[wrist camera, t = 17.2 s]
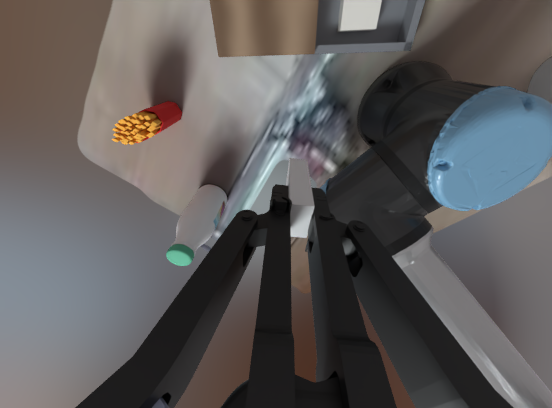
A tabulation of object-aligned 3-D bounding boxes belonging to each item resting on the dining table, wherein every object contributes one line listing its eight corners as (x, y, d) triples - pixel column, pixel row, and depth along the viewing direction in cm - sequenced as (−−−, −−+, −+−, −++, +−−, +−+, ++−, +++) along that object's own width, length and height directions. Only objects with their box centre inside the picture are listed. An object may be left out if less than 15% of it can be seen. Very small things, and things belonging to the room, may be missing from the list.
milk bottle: (191, 191, 52) (147, 252, 36) (214, 178, 49) (176, 238, 33) (212, 212, 56) (179, 276, 40) (234, 201, 53) (208, 264, 37)
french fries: (159, 131, 43) (121, 153, 33) (145, 113, 41) (100, 131, 31) (190, 114, 41) (159, 133, 31) (177, 94, 39) (139, 107, 29)
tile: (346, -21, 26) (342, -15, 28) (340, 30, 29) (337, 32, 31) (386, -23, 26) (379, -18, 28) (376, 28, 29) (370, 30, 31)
